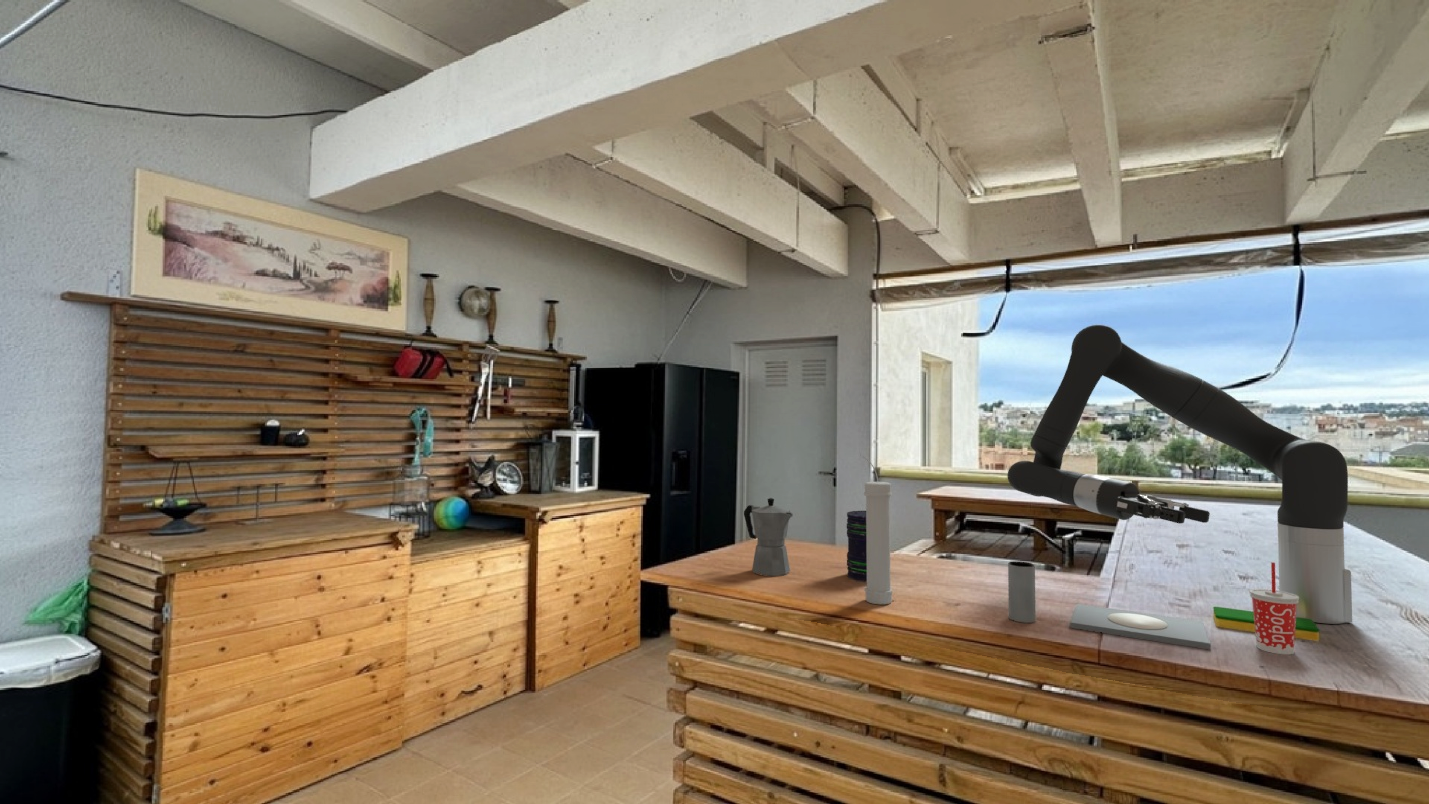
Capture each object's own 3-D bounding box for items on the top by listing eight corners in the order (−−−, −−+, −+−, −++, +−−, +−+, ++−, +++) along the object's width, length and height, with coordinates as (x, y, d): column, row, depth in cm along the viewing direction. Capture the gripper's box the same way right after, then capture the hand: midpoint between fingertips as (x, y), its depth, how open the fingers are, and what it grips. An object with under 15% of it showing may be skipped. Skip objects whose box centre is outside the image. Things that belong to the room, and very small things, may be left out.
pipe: (893, 606, 130) (892, 455, 131) (861, 604, 131) (860, 455, 132) (891, 598, 135) (890, 454, 136) (860, 596, 136) (860, 454, 137)
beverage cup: (1249, 649, 105) (1247, 562, 106) (1251, 640, 110) (1250, 557, 110) (1300, 659, 101) (1297, 568, 101) (1300, 649, 106) (1298, 562, 106)
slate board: (1203, 626, 117) (1203, 619, 117) (1210, 649, 105) (1210, 642, 105) (1076, 608, 128) (1076, 602, 128) (1070, 627, 116) (1070, 621, 116)
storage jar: (895, 575, 155) (894, 512, 156) (882, 584, 147) (881, 517, 147) (855, 570, 161) (854, 509, 161) (840, 578, 152) (840, 514, 153)
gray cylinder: (1024, 624, 118) (1024, 567, 118) (1003, 617, 122) (1002, 562, 122) (1041, 620, 120) (1040, 565, 120) (1019, 614, 124) (1018, 560, 125)
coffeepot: (804, 573, 157) (804, 498, 158) (779, 580, 151) (779, 502, 151) (757, 563, 168) (756, 493, 169) (731, 569, 162) (731, 496, 162)
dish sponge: (1213, 618, 123) (1213, 605, 123) (1311, 632, 115) (1311, 618, 115) (1216, 628, 117) (1215, 615, 117) (1319, 643, 109) (1319, 629, 109)
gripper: (1087, 477, 127) (1179, 497, 113) (1128, 478, 134) (1219, 497, 120) (1081, 514, 127) (1172, 539, 113) (1122, 514, 134) (1212, 537, 120)
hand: (1196, 517), depth 116 cm, fingers open, 8 cm apart
